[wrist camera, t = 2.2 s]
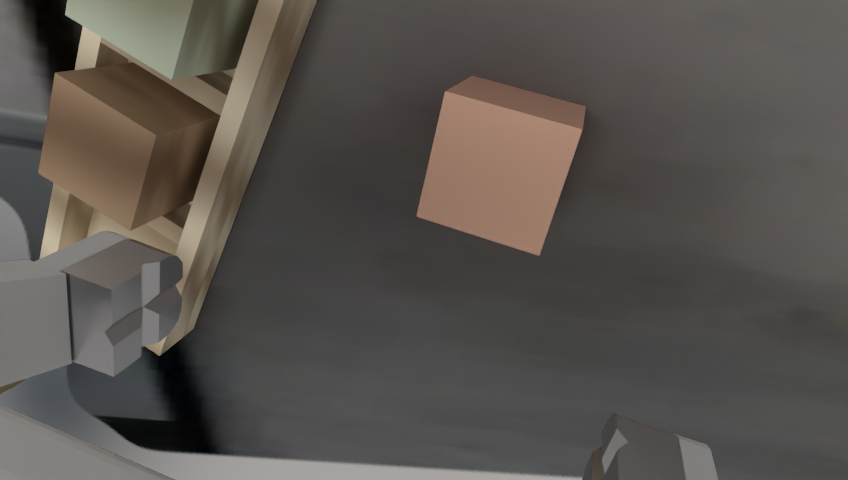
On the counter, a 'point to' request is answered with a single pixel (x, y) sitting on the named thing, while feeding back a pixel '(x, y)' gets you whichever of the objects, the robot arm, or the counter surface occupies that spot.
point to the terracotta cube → (500, 162)
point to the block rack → (166, 125)
